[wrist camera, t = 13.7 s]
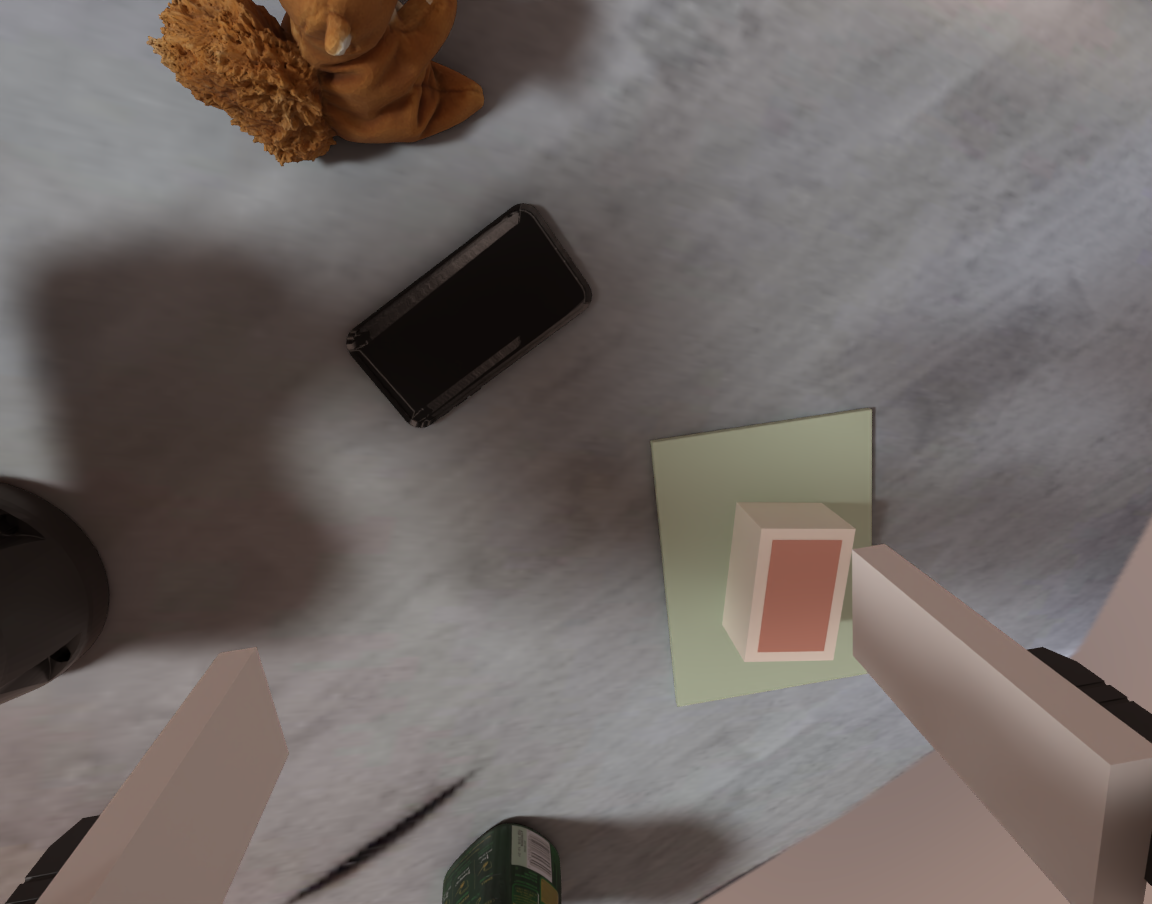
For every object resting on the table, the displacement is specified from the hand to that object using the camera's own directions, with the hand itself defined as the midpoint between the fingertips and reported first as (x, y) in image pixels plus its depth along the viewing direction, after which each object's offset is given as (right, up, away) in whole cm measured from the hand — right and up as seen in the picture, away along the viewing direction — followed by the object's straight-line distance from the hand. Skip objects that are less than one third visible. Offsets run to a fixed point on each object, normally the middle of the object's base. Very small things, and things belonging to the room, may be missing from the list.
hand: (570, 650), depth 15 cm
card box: (+15, -4, +35) cm, 38 cm away
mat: (+15, -4, +36) cm, 39 cm away
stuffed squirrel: (-13, +26, +25) cm, 38 cm away
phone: (-7, +13, +29) cm, 33 cm away
